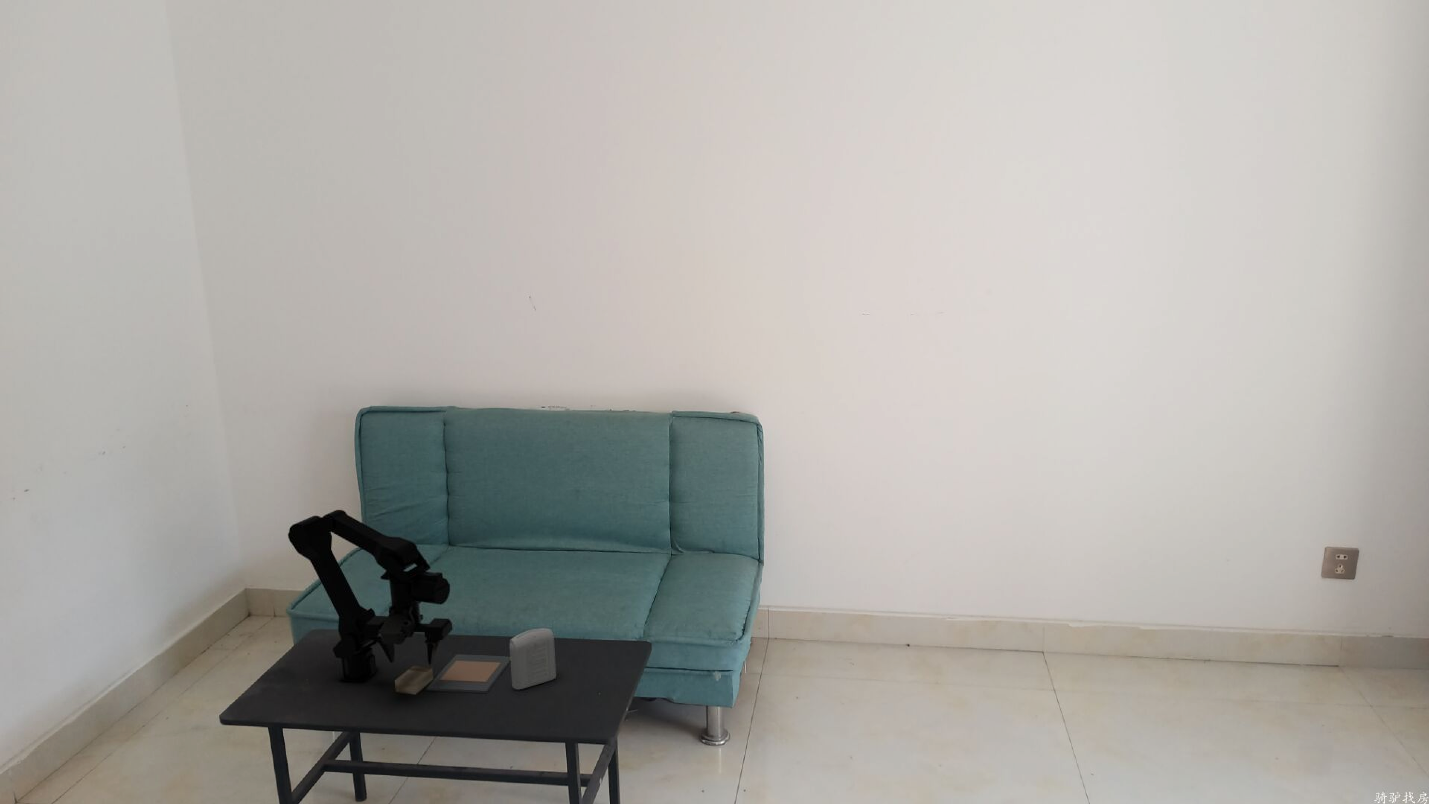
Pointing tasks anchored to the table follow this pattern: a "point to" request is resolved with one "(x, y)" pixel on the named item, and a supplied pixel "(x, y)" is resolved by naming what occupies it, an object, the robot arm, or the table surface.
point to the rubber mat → (470, 673)
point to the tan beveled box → (414, 680)
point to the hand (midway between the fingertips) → (411, 663)
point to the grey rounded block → (532, 658)
